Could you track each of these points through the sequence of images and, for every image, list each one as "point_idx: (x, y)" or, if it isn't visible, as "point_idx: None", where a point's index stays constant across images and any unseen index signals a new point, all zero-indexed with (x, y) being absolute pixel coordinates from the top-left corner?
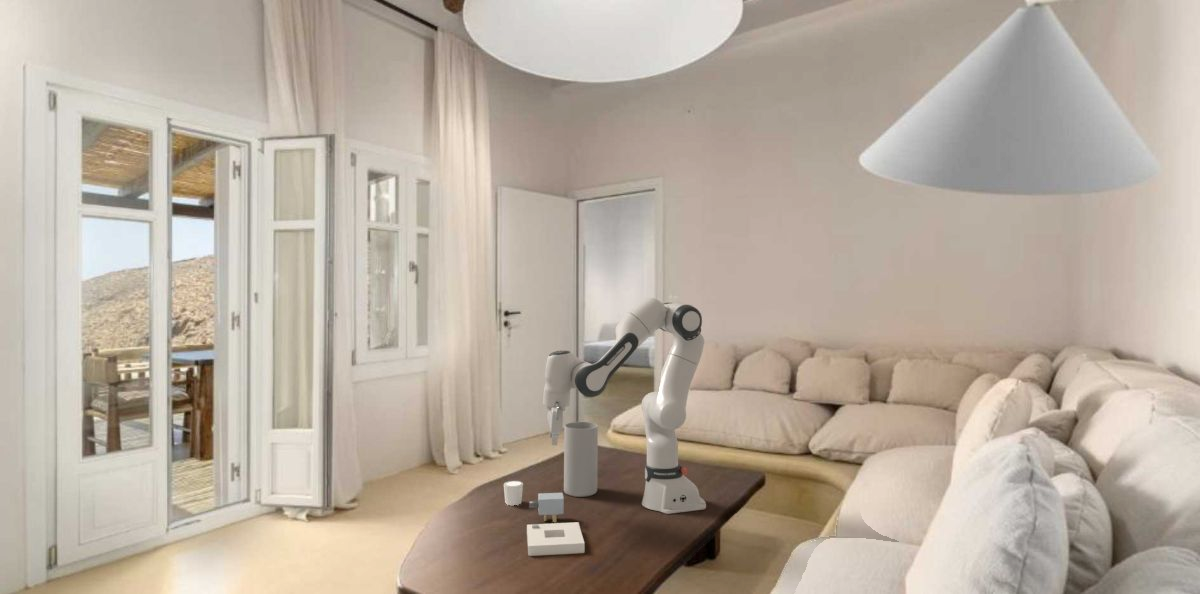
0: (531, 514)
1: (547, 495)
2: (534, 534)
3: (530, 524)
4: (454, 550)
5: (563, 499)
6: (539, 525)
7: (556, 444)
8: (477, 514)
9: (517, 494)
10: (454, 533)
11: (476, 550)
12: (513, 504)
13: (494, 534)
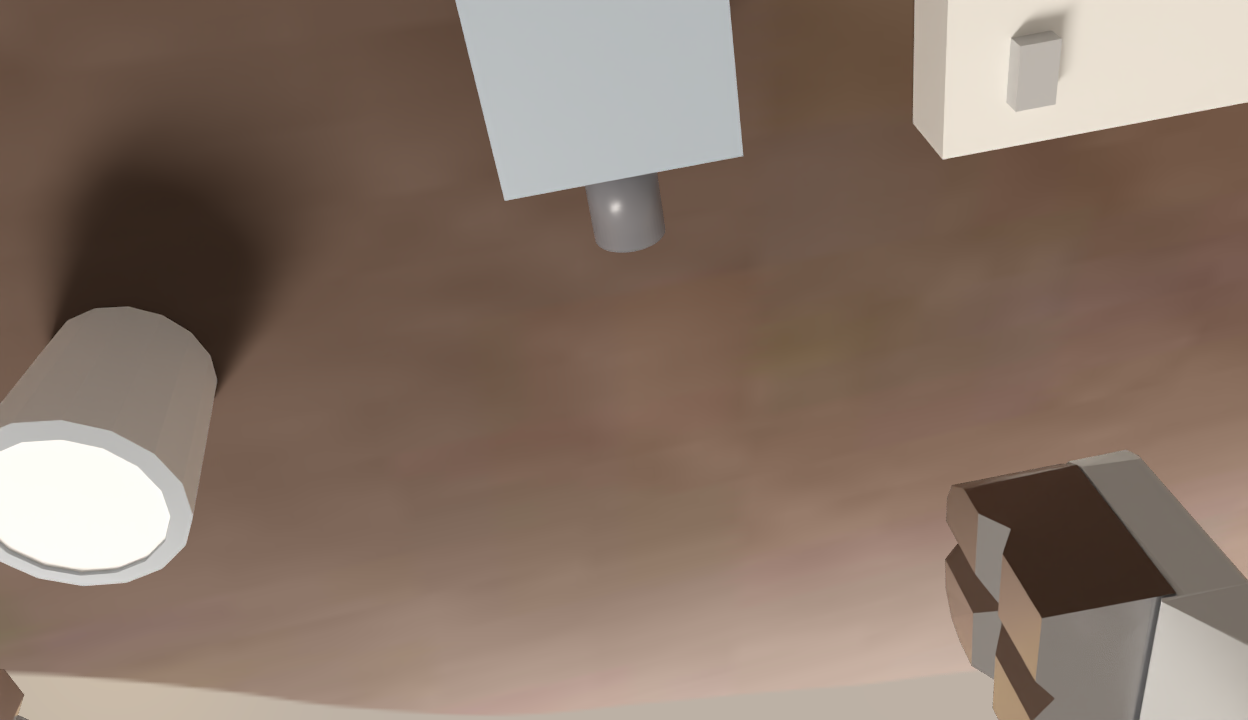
0: (414, 158)
1: (576, 69)
2: (1206, 49)
3: (944, 126)
4: None
5: None
6: (985, 32)
7: (1139, 472)
8: (476, 553)
9: (168, 395)
10: (839, 583)
11: (1152, 405)
12: (208, 365)
13: (890, 361)
